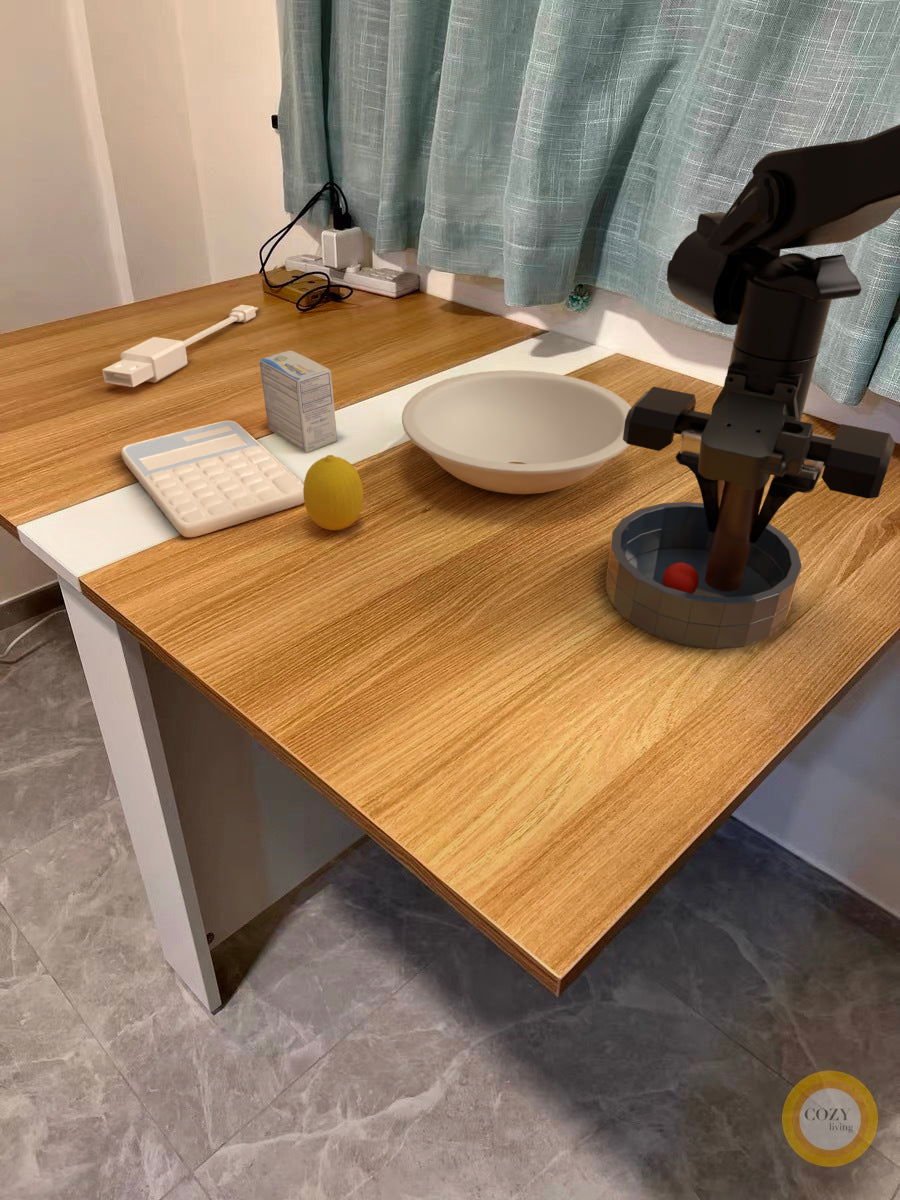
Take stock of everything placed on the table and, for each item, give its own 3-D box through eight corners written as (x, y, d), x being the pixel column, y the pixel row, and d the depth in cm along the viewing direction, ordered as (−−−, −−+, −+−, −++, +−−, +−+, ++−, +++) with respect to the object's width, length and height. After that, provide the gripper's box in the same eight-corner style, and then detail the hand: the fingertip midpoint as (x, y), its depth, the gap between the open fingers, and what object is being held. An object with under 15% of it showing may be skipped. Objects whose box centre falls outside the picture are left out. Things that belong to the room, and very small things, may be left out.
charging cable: (269, 321, 134) (266, 298, 133) (137, 394, 109) (132, 367, 107) (240, 317, 136) (237, 295, 134) (103, 388, 111) (97, 362, 109)
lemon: (338, 553, 82) (331, 476, 77) (295, 534, 84) (286, 458, 79) (377, 528, 85) (373, 453, 80) (335, 510, 88) (329, 436, 83)
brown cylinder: (745, 577, 75) (773, 459, 68) (736, 595, 72) (765, 476, 66) (709, 567, 76) (734, 451, 69) (700, 585, 74) (724, 467, 67)
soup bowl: (573, 412, 106) (577, 359, 102) (672, 509, 88) (683, 449, 84) (379, 439, 100) (376, 384, 97) (442, 549, 82) (442, 487, 78)
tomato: (700, 590, 76) (706, 561, 74) (690, 609, 74) (696, 579, 72) (666, 580, 77) (671, 552, 75) (655, 598, 75) (660, 569, 73)
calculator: (185, 543, 83) (181, 525, 82) (120, 459, 96) (116, 443, 95) (313, 503, 89) (311, 486, 88) (235, 430, 102) (232, 414, 101)
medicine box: (338, 442, 100) (332, 368, 95) (305, 454, 97) (297, 379, 92) (299, 419, 105) (292, 348, 99) (267, 430, 102) (257, 358, 97)
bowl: (802, 577, 79) (816, 529, 76) (763, 676, 68) (778, 625, 65) (638, 533, 85) (645, 487, 82) (578, 618, 74) (584, 568, 71)
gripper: (609, 360, 60) (587, 553, 69) (905, 416, 53) (837, 623, 62) (660, 312, 68) (634, 491, 77) (923, 356, 61) (860, 547, 70)
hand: (732, 535), depth 71 cm, fingers closed on brown cylinder, 3 cm apart
